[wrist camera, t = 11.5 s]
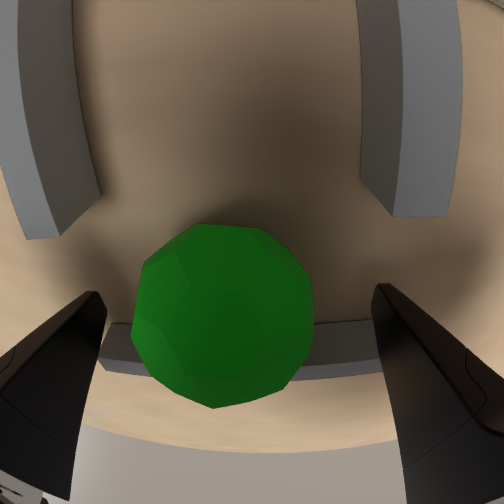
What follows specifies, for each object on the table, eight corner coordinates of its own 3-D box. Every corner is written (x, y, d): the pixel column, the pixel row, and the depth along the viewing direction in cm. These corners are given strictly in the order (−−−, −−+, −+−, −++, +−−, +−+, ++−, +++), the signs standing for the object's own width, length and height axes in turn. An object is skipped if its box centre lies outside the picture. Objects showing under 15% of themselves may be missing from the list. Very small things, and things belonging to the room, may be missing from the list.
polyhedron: (166, 307, 11) (133, 414, 7) (152, 190, 8) (70, 298, 4) (292, 319, 11) (300, 433, 7) (319, 203, 8) (363, 328, 4)
